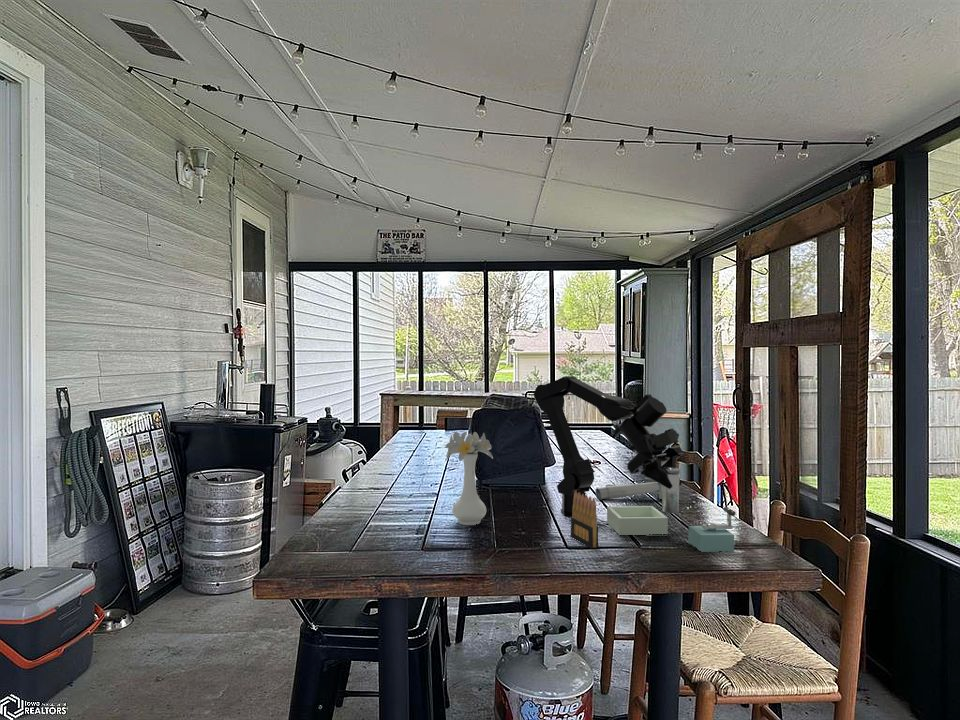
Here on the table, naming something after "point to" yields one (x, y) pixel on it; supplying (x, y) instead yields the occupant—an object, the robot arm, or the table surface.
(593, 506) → the ammunition clip
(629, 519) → the tray
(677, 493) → the pin
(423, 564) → the table surface
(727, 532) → the crank block
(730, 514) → the crank handle
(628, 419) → the robot arm
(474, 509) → the flower vase
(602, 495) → the grey mallet
